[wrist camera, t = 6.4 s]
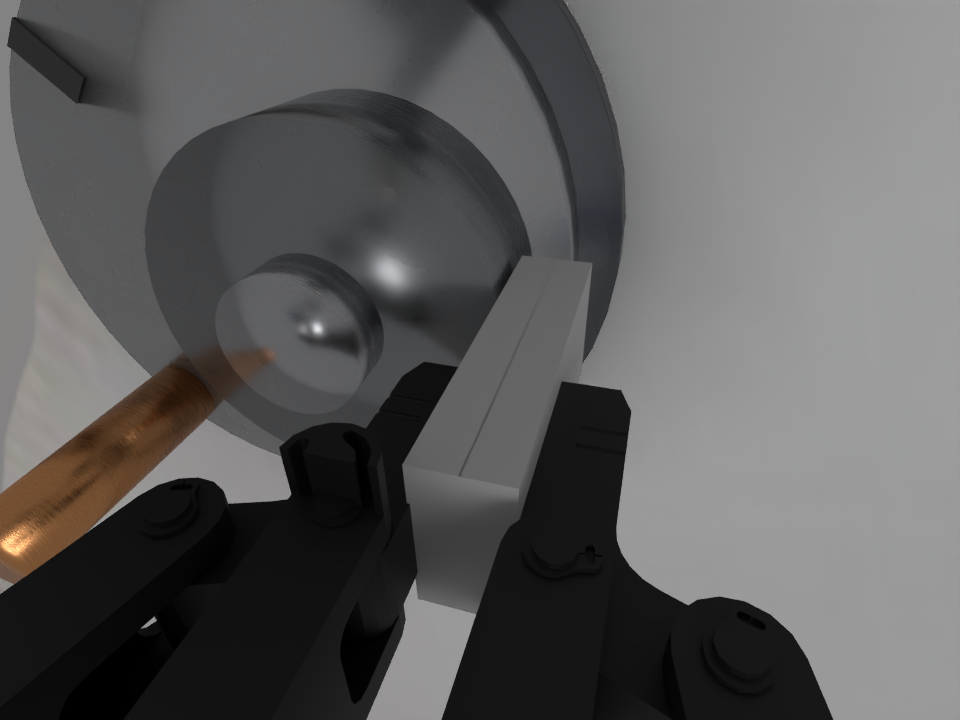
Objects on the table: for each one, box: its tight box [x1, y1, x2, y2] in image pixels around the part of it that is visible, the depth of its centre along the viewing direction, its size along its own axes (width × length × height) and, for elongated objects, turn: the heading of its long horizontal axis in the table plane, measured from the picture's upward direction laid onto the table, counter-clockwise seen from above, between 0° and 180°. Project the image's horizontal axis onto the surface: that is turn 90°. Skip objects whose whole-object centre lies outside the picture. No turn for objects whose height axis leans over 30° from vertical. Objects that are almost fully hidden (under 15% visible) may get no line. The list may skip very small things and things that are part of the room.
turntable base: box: [485, 0, 626, 363], centre depth 18 cm, size 18×18×1 cm
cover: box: [145, 89, 532, 442], centre depth 14 cm, size 8×8×4 cm
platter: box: [0, 0, 580, 584], centre depth 14 cm, size 16×17×8 cm
